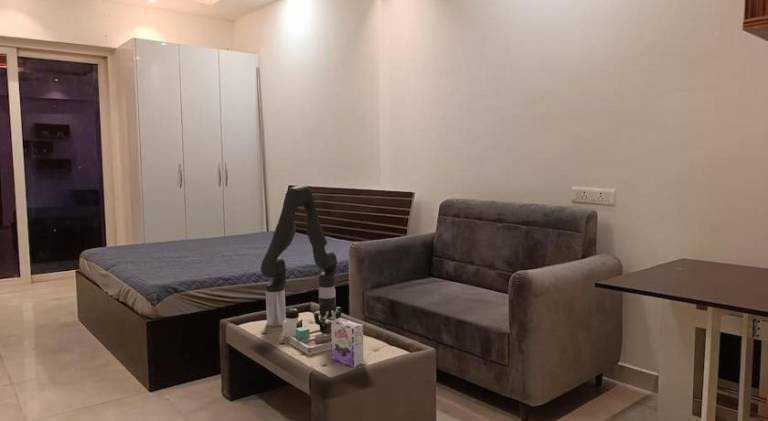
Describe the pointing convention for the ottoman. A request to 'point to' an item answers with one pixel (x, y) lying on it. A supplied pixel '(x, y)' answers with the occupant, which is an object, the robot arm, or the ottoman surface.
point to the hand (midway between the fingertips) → (328, 331)
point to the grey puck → (319, 339)
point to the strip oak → (326, 329)
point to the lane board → (306, 348)
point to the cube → (302, 333)
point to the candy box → (347, 342)
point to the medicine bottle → (291, 322)
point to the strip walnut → (318, 344)
